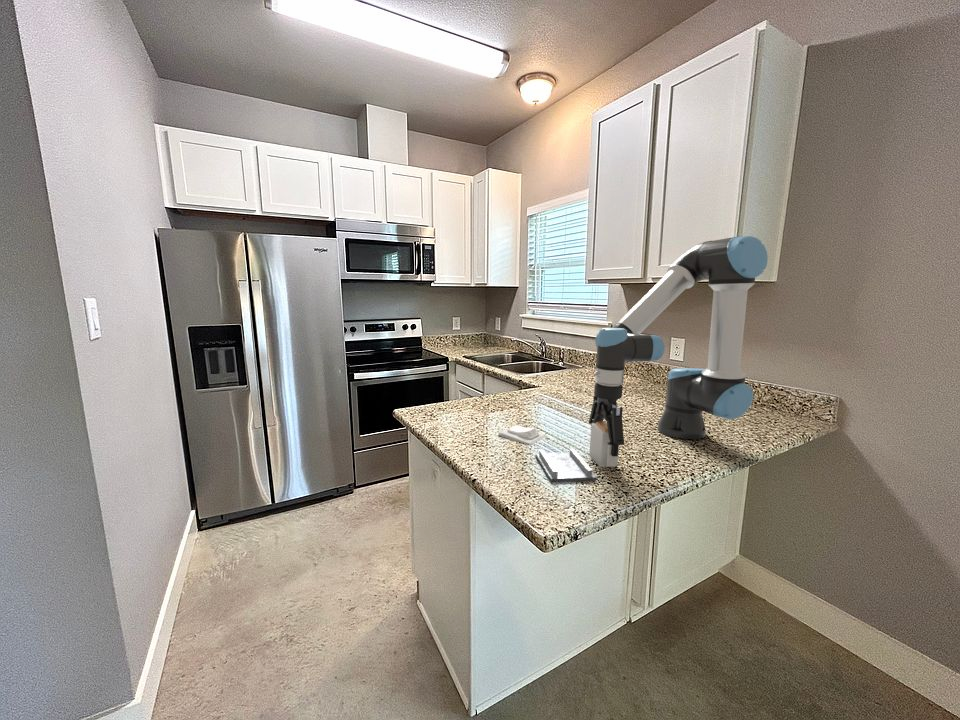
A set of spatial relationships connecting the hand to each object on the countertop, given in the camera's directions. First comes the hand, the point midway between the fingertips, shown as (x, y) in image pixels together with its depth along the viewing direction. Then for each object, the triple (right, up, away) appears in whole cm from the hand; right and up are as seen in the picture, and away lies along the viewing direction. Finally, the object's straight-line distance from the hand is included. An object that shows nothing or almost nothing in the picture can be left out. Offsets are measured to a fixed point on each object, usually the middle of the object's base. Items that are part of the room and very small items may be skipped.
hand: (603, 457), depth 112 cm
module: (0, -1, 0) cm, 1 cm away
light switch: (-21, +2, +19) cm, 28 cm away
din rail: (-13, -2, -5) cm, 14 cm away
